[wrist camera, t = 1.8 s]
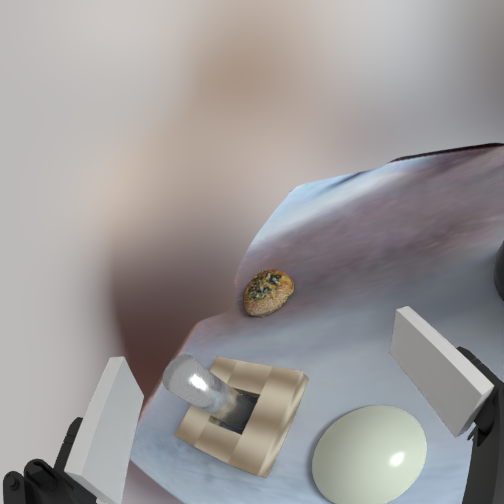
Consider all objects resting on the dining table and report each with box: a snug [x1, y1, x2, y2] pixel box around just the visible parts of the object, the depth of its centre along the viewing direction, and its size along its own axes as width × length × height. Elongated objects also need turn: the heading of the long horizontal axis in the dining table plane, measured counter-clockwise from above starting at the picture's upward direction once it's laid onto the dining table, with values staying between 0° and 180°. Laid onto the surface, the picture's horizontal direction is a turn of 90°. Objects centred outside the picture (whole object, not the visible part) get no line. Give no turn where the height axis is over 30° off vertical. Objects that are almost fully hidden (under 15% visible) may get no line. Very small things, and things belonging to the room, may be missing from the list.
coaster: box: [312, 405, 427, 504], centre depth 23 cm, size 14×14×1 cm
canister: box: [163, 355, 256, 430], centre depth 33 cm, size 5×5×15 cm
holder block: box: [175, 356, 308, 477], centre depth 36 cm, size 16×16×3 cm
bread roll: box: [243, 269, 294, 317], centre depth 54 cm, size 11×11×5 cm
